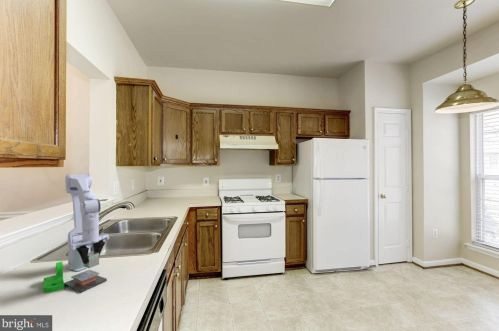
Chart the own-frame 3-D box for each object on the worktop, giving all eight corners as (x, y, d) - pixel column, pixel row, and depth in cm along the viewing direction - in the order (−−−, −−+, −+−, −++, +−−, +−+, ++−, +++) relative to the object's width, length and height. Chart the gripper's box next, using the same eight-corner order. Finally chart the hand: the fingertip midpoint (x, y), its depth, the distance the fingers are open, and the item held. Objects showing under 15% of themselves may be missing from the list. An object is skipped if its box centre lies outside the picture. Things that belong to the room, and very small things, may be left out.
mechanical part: (43, 282, 98) (43, 263, 97) (62, 278, 102) (61, 259, 101) (44, 295, 89) (43, 274, 89) (64, 289, 93) (64, 269, 92)
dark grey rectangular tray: (63, 285, 95) (63, 276, 95) (89, 274, 104) (89, 267, 104) (80, 292, 90) (80, 283, 90) (106, 281, 99) (106, 272, 99)
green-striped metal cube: (83, 266, 97) (83, 254, 97) (93, 262, 101) (93, 251, 101) (89, 268, 96) (89, 256, 96) (99, 264, 99) (99, 252, 99)
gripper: (77, 235, 90) (77, 270, 90) (113, 225, 103) (113, 256, 103) (66, 232, 93) (67, 266, 93) (103, 223, 106) (103, 253, 106)
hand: (90, 261), depth 98 cm, fingers closed on green-striped metal cube, 4 cm apart
